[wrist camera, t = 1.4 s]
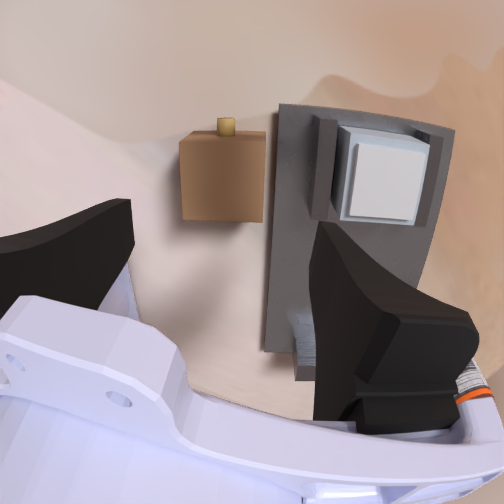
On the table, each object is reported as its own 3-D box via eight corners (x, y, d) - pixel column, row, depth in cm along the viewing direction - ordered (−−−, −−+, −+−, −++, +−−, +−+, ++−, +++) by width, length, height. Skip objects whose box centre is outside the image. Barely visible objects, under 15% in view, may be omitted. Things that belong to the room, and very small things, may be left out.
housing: (196, 195, 22) (182, 220, 18) (194, 115, 19) (178, 123, 15) (262, 197, 22) (262, 222, 18) (266, 116, 19) (266, 123, 15)
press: (264, 345, 28) (263, 380, 25) (279, 103, 18) (282, 108, 15) (390, 344, 28) (401, 376, 24) (449, 128, 18) (481, 140, 15)
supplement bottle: (449, 370, 30) (482, 449, 21) (407, 373, 30) (436, 462, 21) (472, 332, 27) (516, 415, 18) (429, 334, 27) (471, 428, 18)
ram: (330, 202, 20) (341, 223, 18) (339, 125, 18) (352, 134, 15) (397, 207, 20) (416, 228, 17) (410, 135, 18) (433, 146, 15)
